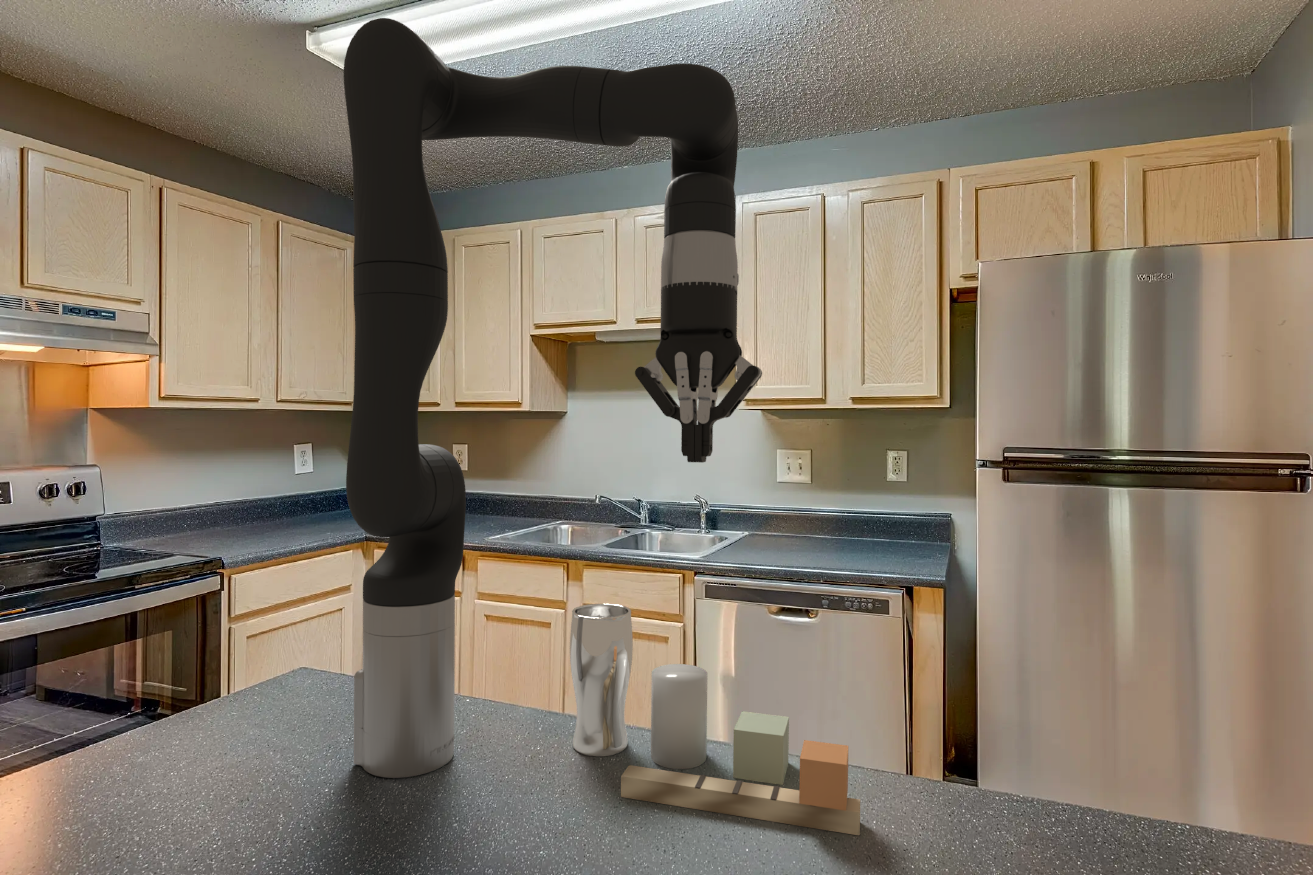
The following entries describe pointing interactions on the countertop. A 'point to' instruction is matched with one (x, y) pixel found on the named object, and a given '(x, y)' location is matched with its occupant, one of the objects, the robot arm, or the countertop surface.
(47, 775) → the countertop surface
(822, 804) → the block
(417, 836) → the countertop surface
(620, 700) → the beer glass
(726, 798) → the rail
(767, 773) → the sage block
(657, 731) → the grey rounded cylinder
